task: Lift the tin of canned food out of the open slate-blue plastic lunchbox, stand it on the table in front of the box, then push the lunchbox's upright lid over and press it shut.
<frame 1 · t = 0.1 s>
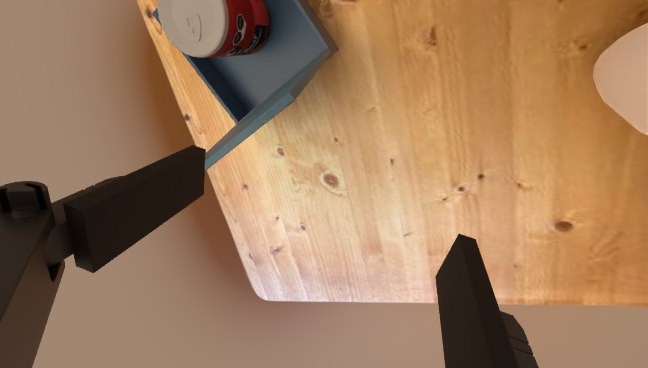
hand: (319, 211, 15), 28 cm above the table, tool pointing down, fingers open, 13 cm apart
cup: (603, 64, 32), on the table
lunchbox: (254, 32, 40), on the table
lunchbox lid: (254, 117, 30), point 14 cm above the table, hinge at 100.0°
canned food: (245, 21, 39), resting on lunchbox
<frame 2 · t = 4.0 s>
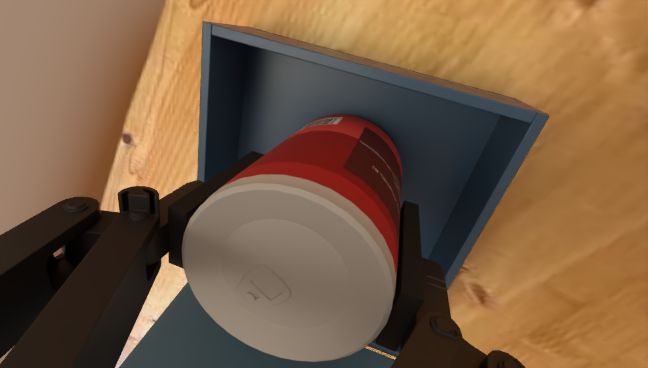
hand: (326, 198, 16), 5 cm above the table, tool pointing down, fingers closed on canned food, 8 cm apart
lunchbox: (337, 187, 21), on the table
canned food: (342, 169, 20), resting on lunchbox, touching gripper
when the fingers open (4 cm above the table, at t = 10.7 s): canned food stays where it is, on the table.
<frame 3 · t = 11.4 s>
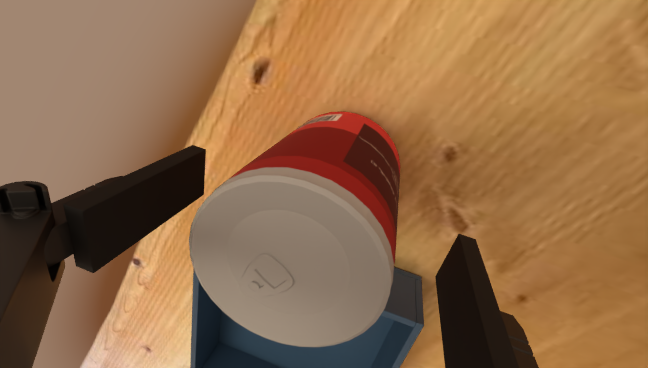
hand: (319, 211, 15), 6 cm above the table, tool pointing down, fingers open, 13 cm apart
lunchbox: (300, 313, 27), on the table
canned food: (342, 165, 21), on the table
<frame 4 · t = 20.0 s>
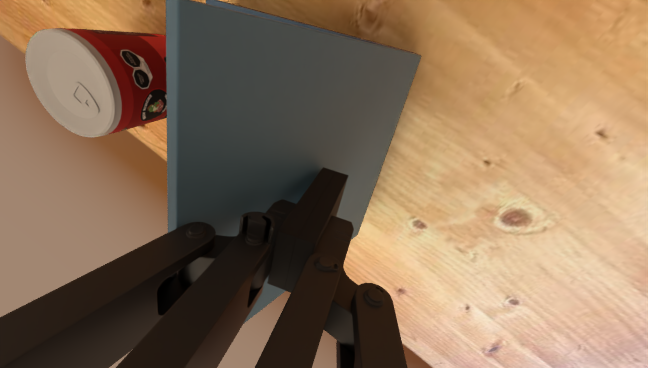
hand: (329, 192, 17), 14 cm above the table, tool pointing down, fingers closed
lunchbox: (304, 115, 30), on the table
lunchbox lid: (317, 184, 18), point 13 cm above the table, hinge at 68.3°, touching gripper
canned food: (173, 75, 32), on the table
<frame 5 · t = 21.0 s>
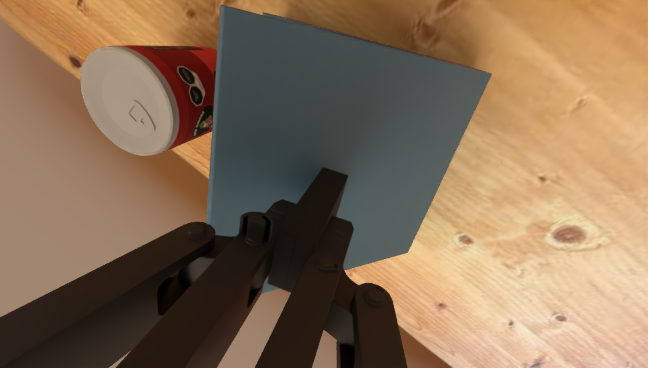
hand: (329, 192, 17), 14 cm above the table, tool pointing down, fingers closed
lunchbox: (350, 129, 29), on the table
lunchbox lid: (354, 182, 19), point 11 cm above the table, hinge at 45.8°, touching gripper
canned food: (214, 87, 31), on the table
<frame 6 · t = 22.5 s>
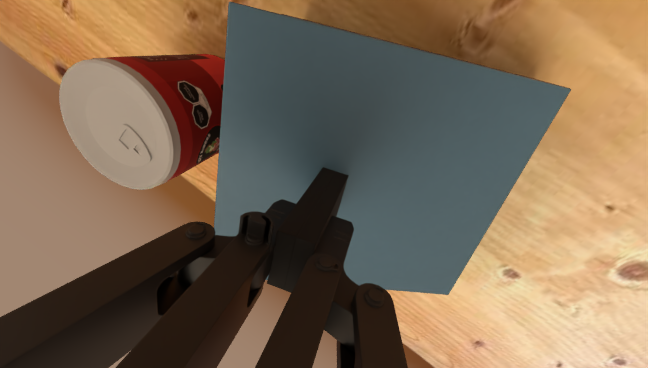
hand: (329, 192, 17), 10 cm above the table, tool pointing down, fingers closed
lunchbox lid: (370, 189, 18), point 8 cm above the table, hinge at 20.8°, touching gripper
canned food: (220, 100, 27), on the table
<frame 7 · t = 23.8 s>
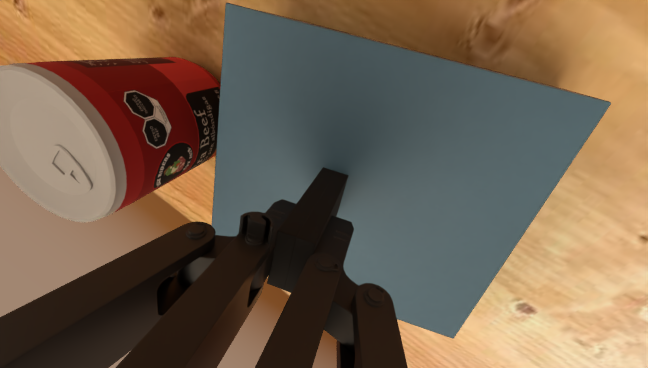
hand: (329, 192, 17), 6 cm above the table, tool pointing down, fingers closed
lunchbox lid: (358, 196, 17), point 5 cm above the table, hinge at 2.1°, touching gripper
canned food: (193, 109, 24), on the table
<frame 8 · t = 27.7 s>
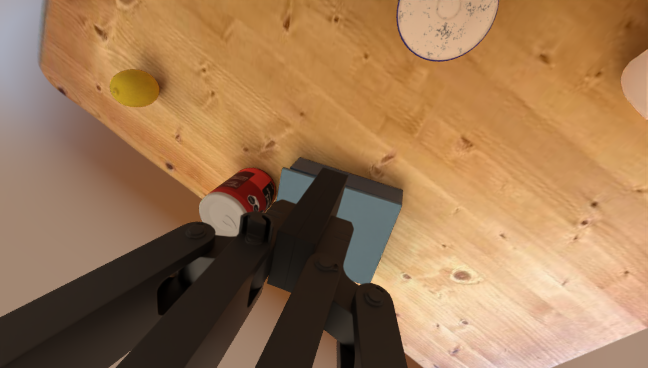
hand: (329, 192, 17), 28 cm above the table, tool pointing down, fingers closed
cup: (628, 71, 34), on the table
teacup with lid: (429, 9, 36), on the table
lunchbox: (337, 214, 51), on the table
lemon: (156, 85, 50), on the table
lunchbox lid: (328, 230, 46), point 5 cm above the table, hinge at 2.1°
canned food: (257, 186, 53), on the table
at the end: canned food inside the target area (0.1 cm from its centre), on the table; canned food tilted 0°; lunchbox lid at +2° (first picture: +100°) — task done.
